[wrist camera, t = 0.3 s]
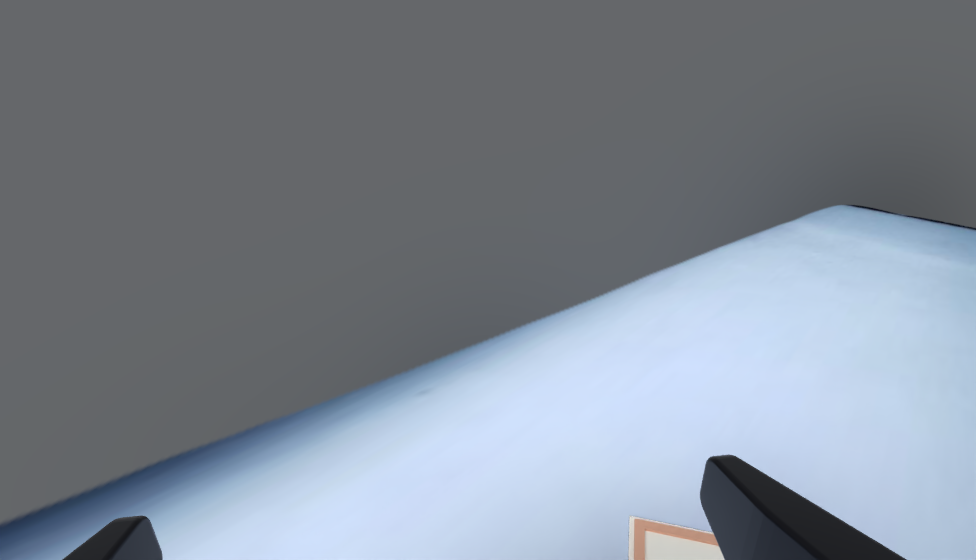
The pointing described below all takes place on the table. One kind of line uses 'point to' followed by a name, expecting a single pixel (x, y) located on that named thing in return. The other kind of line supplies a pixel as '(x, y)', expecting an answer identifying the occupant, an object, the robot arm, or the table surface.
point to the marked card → (670, 542)
